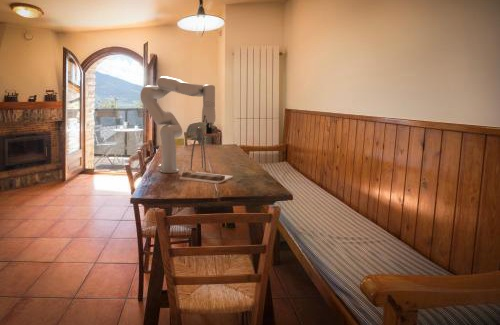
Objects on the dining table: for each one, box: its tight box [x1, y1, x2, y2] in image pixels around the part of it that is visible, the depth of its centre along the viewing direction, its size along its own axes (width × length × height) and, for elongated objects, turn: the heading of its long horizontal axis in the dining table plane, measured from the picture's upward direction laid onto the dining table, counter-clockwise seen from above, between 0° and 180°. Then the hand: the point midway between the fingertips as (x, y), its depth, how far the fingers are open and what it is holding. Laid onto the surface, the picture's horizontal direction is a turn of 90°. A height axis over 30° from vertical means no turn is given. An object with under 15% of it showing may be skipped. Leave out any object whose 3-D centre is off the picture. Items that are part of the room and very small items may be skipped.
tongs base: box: [181, 171, 222, 181], centre depth 226 cm, size 26×3×3 cm, turn 66°
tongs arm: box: [193, 171, 225, 180], centre depth 228 cm, size 22×3×2 cm, turn 65°
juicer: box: [190, 126, 207, 172], centre depth 258 cm, size 10×11×30 cm
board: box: [178, 171, 234, 184], centre depth 231 cm, size 27×20×1 cm
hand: (209, 133), depth 237 cm, fingers closed
